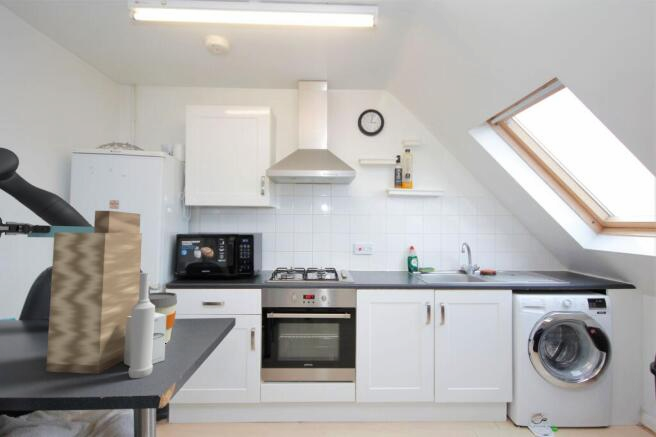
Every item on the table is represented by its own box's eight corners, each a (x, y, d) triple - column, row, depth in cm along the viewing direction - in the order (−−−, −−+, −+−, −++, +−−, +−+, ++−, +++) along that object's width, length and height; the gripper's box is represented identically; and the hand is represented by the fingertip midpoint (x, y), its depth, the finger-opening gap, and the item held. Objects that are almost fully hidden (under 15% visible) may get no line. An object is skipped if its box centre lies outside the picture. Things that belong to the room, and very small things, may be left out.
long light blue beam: (20, 234, 93) (56, 192, 97) (26, 234, 97) (61, 193, 102) (99, 270, 101) (129, 230, 106) (102, 269, 106) (130, 230, 110)
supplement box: (137, 370, 81) (139, 320, 82) (123, 363, 85) (125, 316, 86) (165, 360, 87) (167, 314, 88) (150, 355, 91) (152, 310, 92)
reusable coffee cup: (182, 342, 102) (183, 295, 103) (138, 353, 93) (140, 301, 94) (167, 334, 111) (168, 290, 112) (125, 342, 102) (128, 295, 102)
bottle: (135, 370, 81) (139, 271, 83) (156, 369, 82) (160, 271, 83) (123, 379, 76) (128, 274, 78) (146, 378, 77) (150, 274, 78)
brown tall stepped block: (46, 371, 80) (55, 210, 82) (91, 351, 94) (98, 214, 96) (98, 373, 79) (106, 210, 81) (136, 353, 93) (142, 214, 95)
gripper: (-37, 213, 84) (46, 216, 92) (-12, 215, 97) (59, 218, 105) (-40, 241, 84) (44, 242, 92) (-14, 240, 96) (58, 241, 104)
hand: (52, 229), depth 98 cm, fingers closed on long light blue beam, 5 cm apart
